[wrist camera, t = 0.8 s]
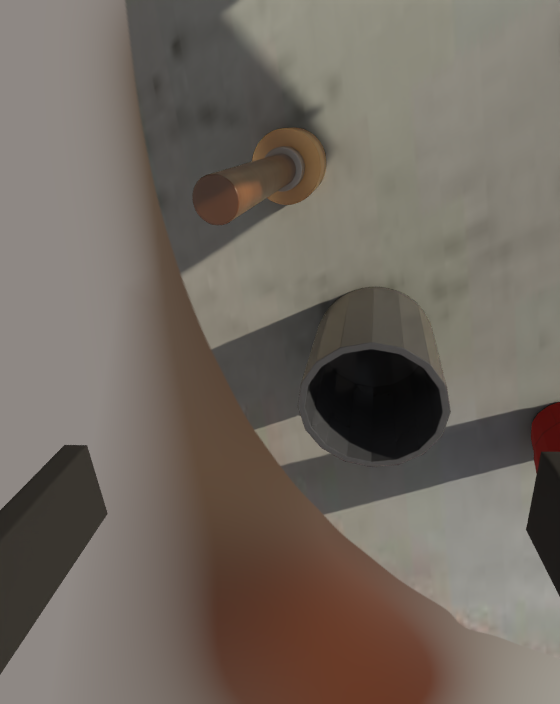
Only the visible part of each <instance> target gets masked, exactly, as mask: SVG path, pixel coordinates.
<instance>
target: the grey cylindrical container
mask: <svg viewBox="0 0 560 704" xmlns="http://www.w3.org/2000/svg"><path fill="white" fill-rule="evenodd" d="M298 409H299V412H300V415H301V418H302V421H303V424H304V427H305V429H306V431H307V432H308V433H309V434H310V435H311V437H312V438H313V439H314V440H315V441H316V442H317V444H318V445H319V446H320V447H321V448H322V449H324V450H326V451H327V452H329V453H331V454H333V455H334V456H336V457H338V458H340V459H342V460H343V461H346V462H351V463H355V464H360V465H365V466H369V467H376V466H388V465H398V464H401V463H404V462H406V461H408V460H411V459H413V458H416V457H418V456H420V455H423V454H424V453H425V452H426V451H427V450H428V449H429V448H430V447H431V446H432V445H433V444H434V443H435V442H436V441H437V440H438V439H439V438H440V437H441V436H442V435H443V432H444V429H445V427H446V424H447V421H448V418H449V415H450V412H451V411H450V404H449V398H448V391H447V386H446V382H445V378H444V374H443V370H442V366H441V362H440V358H439V354H438V350H437V346H436V342H435V338H434V334H433V330H432V326H431V323H430V321H429V319H428V317H427V316H426V314H425V312H424V311H423V309H422V308H421V307H420V306H419V305H418V304H417V303H416V302H415V301H414V300H413V299H411V298H410V297H408V296H407V295H405V294H403V293H401V292H399V291H396V290H393V289H389V288H383V287H368V288H361V289H358V290H354V291H352V292H349V293H347V294H345V295H344V296H342V297H340V298H339V299H338V300H336V301H335V302H334V303H333V304H332V305H331V306H330V307H329V309H328V310H327V311H326V313H325V315H324V316H323V318H322V320H321V322H320V324H319V327H318V330H317V333H316V336H315V340H314V343H313V346H312V349H311V353H310V356H309V359H308V363H307V366H306V369H305V372H304V376H303V379H302V382H301V387H300V394H299V401H298Z"/></svg>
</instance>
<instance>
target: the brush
mask: <svg viewBox="0 0 560 704" xmlns="http://www.w3.org/2000/svg"><path fill="white" fill-rule="evenodd" d="M325 170H326V155H325V151H324V148H323V146H322V144H321V143H320V141H319V140H318V139H317V137H315V136H314V135H313V134H312V133H311V132H309V131H307V130H304V129H301V128H281V129H277V130H274V131H272V132H270V133H268V134H267V135H266V136H264V137H263V138H262V139H261V140H260V142H259V143H258V145H257V147H256V148H255V151H254V153H253V157H252V162H249V163H246V164H242V165H239V166H236V167H232V168H229V169H225V170H222V171H219V172H215V173H212V174H208V175H206V176H204V177H202V178H201V179H199V181H198V182H197V183H196V185H195V187H194V190H193V204H194V208H195V210H196V212H197V213H198V215H199V216H200V217H201V218H202V219H203V220H204V221H206V222H207V223H209V224H212V225H224V224H227V223H229V222H230V221H232V220H234V219H235V218H237V217H238V216H240V215H241V214H243V213H244V212H246V211H247V210H249V209H250V208H252V207H254V206H255V205H257V204H258V203H260V202H261V201H263V200H264V199H266V198H268V199H269V200H271V201H273V202H275V203H278V204H283V205H291V204H295V203H298V202H301V201H302V200H304V199H305V198H307V197H308V196H309V195H310V194H311V193H312V192H313V191H314V190H315V189H316V188H317V187H318V186H319V185H320V183H321V181H322V179H323V177H324V174H325Z"/></svg>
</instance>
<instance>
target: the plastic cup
mask: <svg viewBox="0 0 560 704" xmlns="http://www.w3.org/2000/svg"><path fill="white" fill-rule="evenodd" d="M531 440H532V445H533V450H534V462H535V467H536V473H537V471H538V465H539V460H540V455H541V451H543V452H560V402H558V403H555V404H552V405H549V406H547V407H546V408H545V409H543V410H542V411H541V412H539V413H538V414H537V416H536V417H535V419H534V420H533V422H532V429H531Z"/></svg>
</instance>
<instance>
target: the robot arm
mask: <svg viewBox="0 0 560 704" xmlns="http://www.w3.org/2000/svg"><path fill="white" fill-rule="evenodd" d="M106 515H107V510H106V507H105V504H104V501H103V497H102V494H101V490H100V487H99V484H98V481H97V477H96V474H95V471H94V468H93V464H92V461H91V457H90V454H89V451H88V447H87V446H86V445H85V446H84V445H64V446H63V447H62V448H61V449H60V450H59V451H58V452H57V453H56V454H55V455H54V456H53V457H52V458H51V459H50V460H49V462H47V463H46V465H44V466H43V468H42V469H41V470H40V471H39V472H38V473H37V474H36V475H35V476H34V477H33V478H32V479H31V480H30V481H29V482H28V483H27V484H26V485H25V486H24V487H23V488H22V489H21V490H20V491H19V492H18V493H17V494H16V495H15V496H14V497H13V498H12V499H11V500H10V501H9V502H8V503H7V504H6V505H5V506H4V507H3V508H2V509H1V510H0V674H1V673H2V671H3V669H4V668H5V667H6V665H7V664H8V662H9V661H10V659H11V658H12V656H13V655H14V653H15V651H16V650H17V649H18V647H19V645H20V644H21V642H22V641H23V640H24V638H25V637H26V635H27V634H28V632H29V631H30V629H31V628H32V626H33V625H34V623H35V622H36V620H37V619H38V617H39V616H40V614H41V613H42V611H43V609H44V608H45V607H46V605H47V604H48V602H49V601H50V599H51V598H52V596H53V594H54V593H55V591H56V590H57V589H58V587H59V585H60V584H61V583H62V581H63V580H64V578H65V577H66V575H67V574H68V572H69V571H70V569H71V568H72V566H73V564H74V563H75V562H76V560H77V559H78V557H79V556H80V554H81V553H82V551H83V550H84V548H85V547H86V545H87V544H88V542H89V541H90V539H91V538H92V536H93V535H94V533H95V532H96V530H97V529H98V527H99V526H100V524H101V523H102V521H103V520H104V518H105V517H106ZM526 530H527V532H528V534H529V536H530V538H531V540H532V542H533V544H534V546H535V548H536V550H537V552H538V554H539V556H540V558H541V560H542V562H543V564H544V566H545V568H546V570H547V572H548V574H549V576H550V578H551V580H552V582H553V584H554V586H555V588H556V590H557V592H558V594H559V596H560V452H543V451H541V455H540V460H539V465H538V471H537V476H536V481H535V486H534V492H533V497H532V502H531V507H530V513H529V518H528V523H527V528H526Z"/></svg>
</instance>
